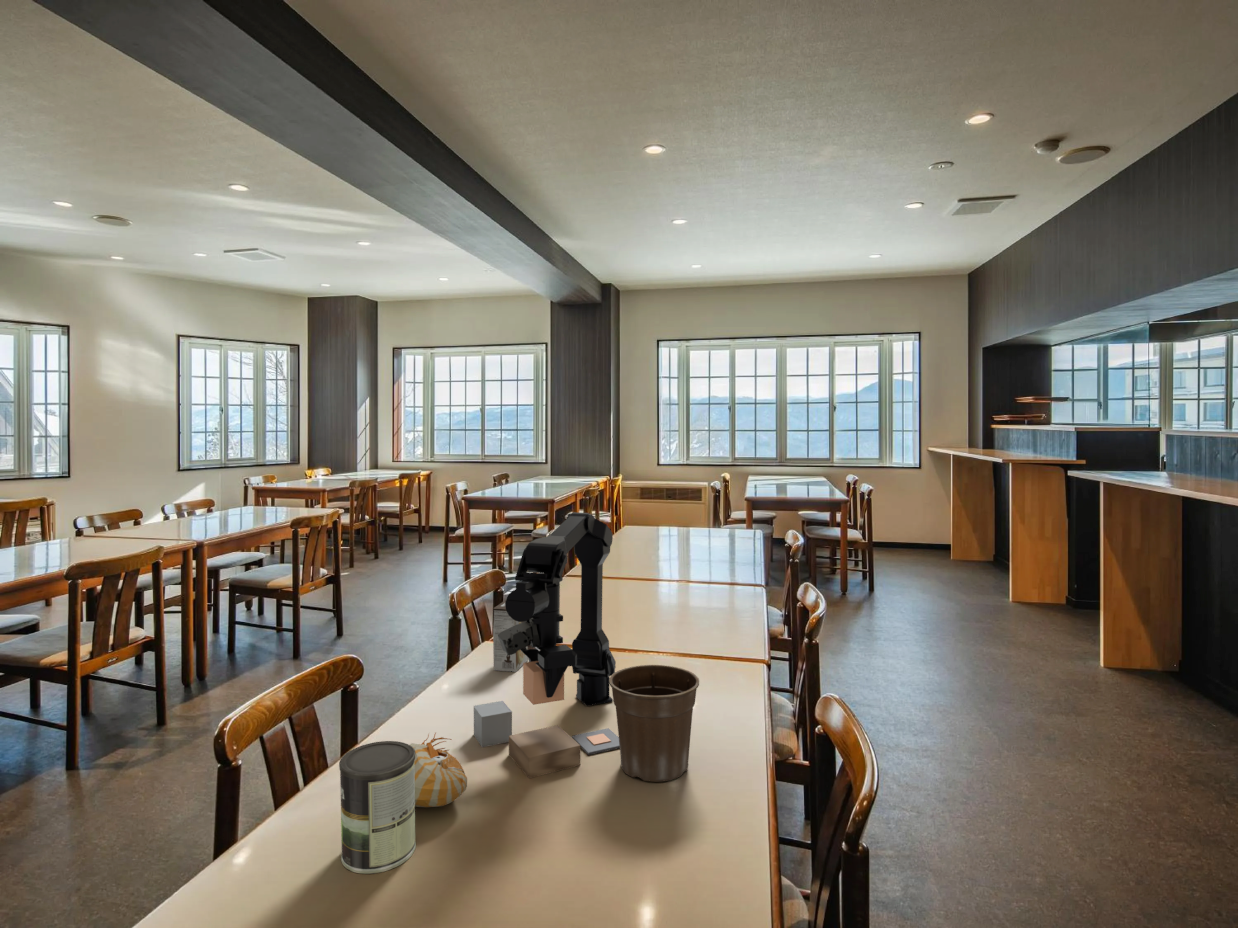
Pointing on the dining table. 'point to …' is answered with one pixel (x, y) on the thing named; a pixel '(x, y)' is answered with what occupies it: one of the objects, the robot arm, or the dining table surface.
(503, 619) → the coffee box
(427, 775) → the nautilus
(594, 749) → the card
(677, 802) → the dining table surface
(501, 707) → the slate grey cube
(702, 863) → the dining table surface
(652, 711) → the plant pot
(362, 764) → the coffee can
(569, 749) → the tan block
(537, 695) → the terracotta cube
